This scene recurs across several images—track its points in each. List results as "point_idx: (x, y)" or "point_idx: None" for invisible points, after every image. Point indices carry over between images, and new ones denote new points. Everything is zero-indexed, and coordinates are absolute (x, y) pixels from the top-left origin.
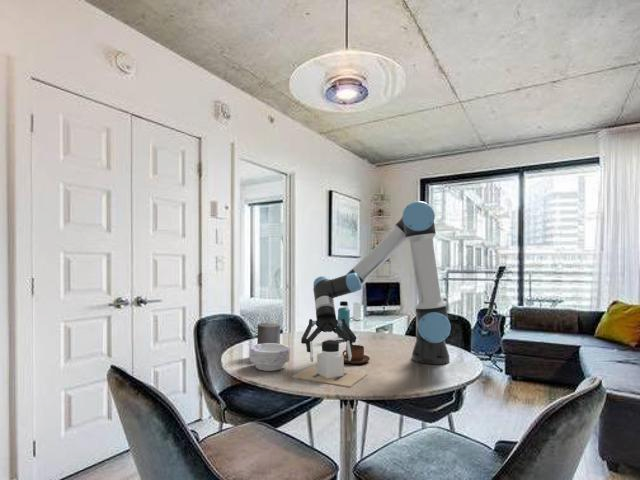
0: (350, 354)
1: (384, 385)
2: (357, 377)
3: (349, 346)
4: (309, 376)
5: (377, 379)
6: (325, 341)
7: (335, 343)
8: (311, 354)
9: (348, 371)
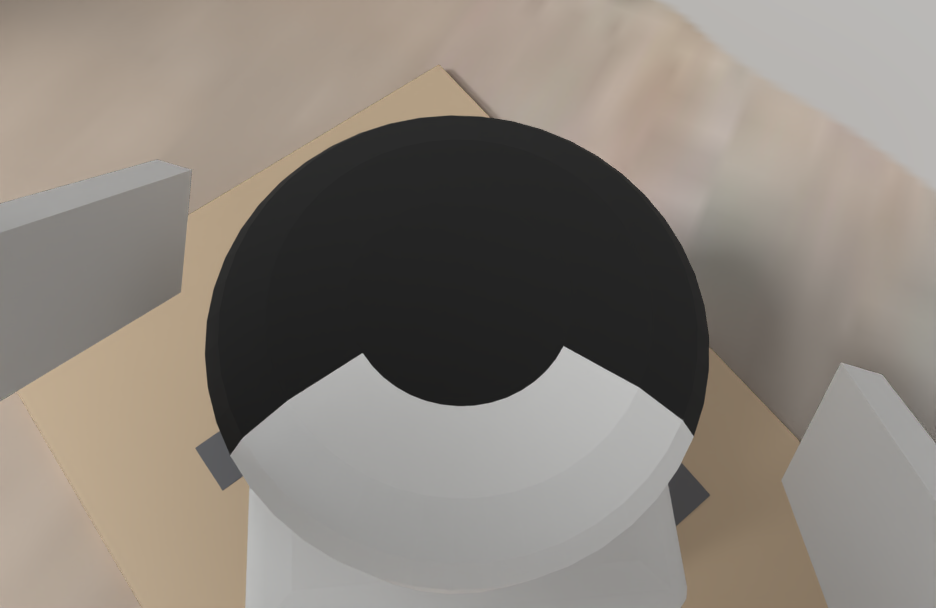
0: (151, 169)
1: (115, 8)
2: (199, 257)
3: (13, 206)
4: (736, 528)
5: (27, 164)
6: (635, 305)
7: (412, 121)
8: (896, 401)
9: (126, 530)
